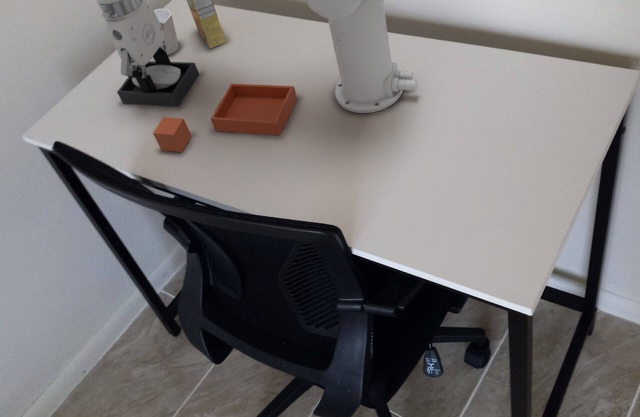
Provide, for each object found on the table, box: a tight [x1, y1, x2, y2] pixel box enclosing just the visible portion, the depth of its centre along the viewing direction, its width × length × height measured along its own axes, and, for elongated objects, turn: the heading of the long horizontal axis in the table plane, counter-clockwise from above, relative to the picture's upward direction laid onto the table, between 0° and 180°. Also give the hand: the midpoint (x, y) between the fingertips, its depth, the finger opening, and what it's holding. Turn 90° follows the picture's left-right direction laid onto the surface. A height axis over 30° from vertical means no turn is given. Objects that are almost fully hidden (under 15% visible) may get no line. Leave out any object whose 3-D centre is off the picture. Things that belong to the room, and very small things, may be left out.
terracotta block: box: [152, 116, 192, 153], centre depth 119 cm, size 4×4×4 cm
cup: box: [153, 8, 180, 56], centre depth 140 cm, size 7×10×8 cm
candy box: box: [186, 0, 227, 50], centre depth 137 cm, size 9×4×15 cm, turn 25°
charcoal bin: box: [116, 60, 200, 108], centre depth 132 cm, size 13×10×3 cm
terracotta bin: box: [210, 83, 298, 136], centre depth 121 cm, size 13×10×3 cm
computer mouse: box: [132, 65, 181, 89], centre depth 131 cm, size 6×10×3 cm, turn 87°
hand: (157, 78), depth 131 cm, fingers closed on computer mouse, 6 cm apart
